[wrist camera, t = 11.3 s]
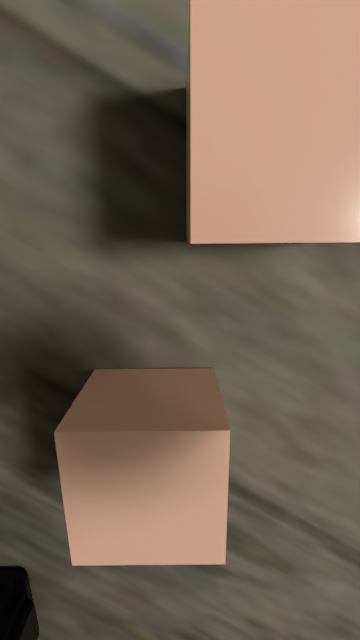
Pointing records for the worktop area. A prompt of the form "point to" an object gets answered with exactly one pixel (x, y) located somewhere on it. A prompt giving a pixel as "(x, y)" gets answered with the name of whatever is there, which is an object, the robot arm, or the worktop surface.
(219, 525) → the pink rectangular prism
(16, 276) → the worktop surface
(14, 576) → the robot arm
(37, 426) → the worktop surface
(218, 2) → the pink block
